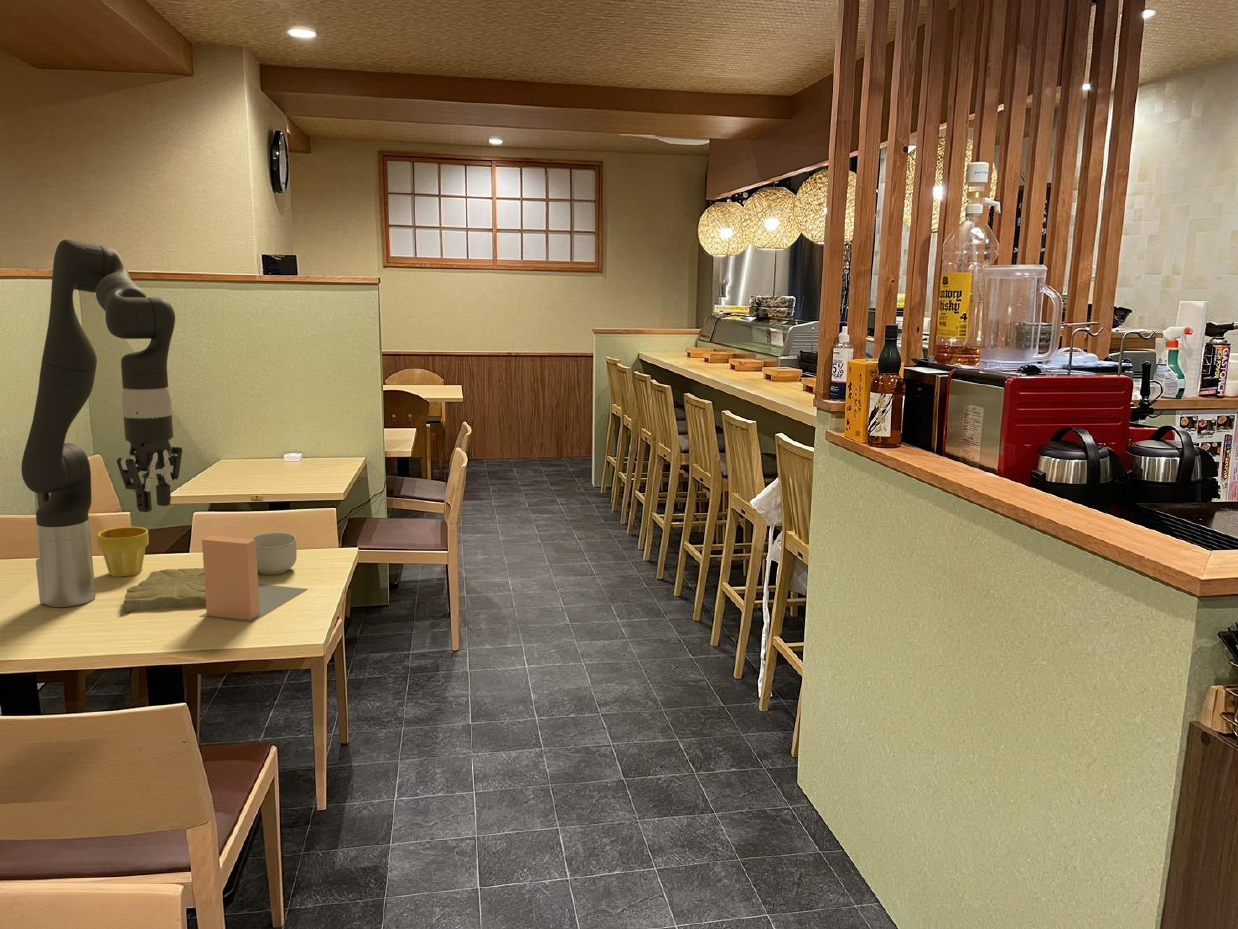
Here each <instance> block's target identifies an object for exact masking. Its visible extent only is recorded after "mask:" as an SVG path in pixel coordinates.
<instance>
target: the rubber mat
mask: <svg viewBox="0 0 1238 929" xmlns="http://www.w3.org/2000/svg"><path fill="white" fill-rule="evenodd" d="M308 590H309V589H308V588H302V587H291V586H283V585H275V584H274V585H273V584H272V585H271V584H263V583H258V591H259V610H260V615H259V616H257V617H256V618H254V619H252V620H244V619H235V618H226V617H217V616H208V615H207V612H205V613H203V614H201V615H199V618H205V619H206V618H207V619H215V620H216V619H218V620H225V621H233V622H241V623H243V622H244V623H251V624H252V623H253V624H254V623H255V622H257V621H258V620H260V619H261V618H263V617H265V616H266V615H268V614H270V613H272V612H274V611H275V610H276V609H278V608H280V607H281V606H283V605H284V604H286V603H288V602H289V601H291V600H293V599H294V598H296V597H298V596H300V595H301V594H303V593H305V592H306V591H308Z"/></svg>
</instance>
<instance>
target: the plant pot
mask: <svg viewBox="0 0 1238 929" xmlns="http://www.w3.org/2000/svg"><path fill="white" fill-rule="evenodd" d="M96 538H97V547H98V549H99V550H100V551H101V552H102V555H103V559H104V561H105V565H106V568H107V572H108V574H109V575H110V576H111V577H114V578H115V577H116V578H118V577H119V578H123V577H122V576H126V577H130V576H129V575H132V576H135V574H136V575H138V574H140V573H141V572H142V571H143V565H144V558H145V553H146V547H148V546H149V540H150V539H149V538H150V537H149V530H148V529H147V528H146V527H140V526H118V527H113V528H108V529H105V530H104V529H103V530H102V531H100V532H98V533H97V537H96ZM139 572H140V573H139Z"/></svg>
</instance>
